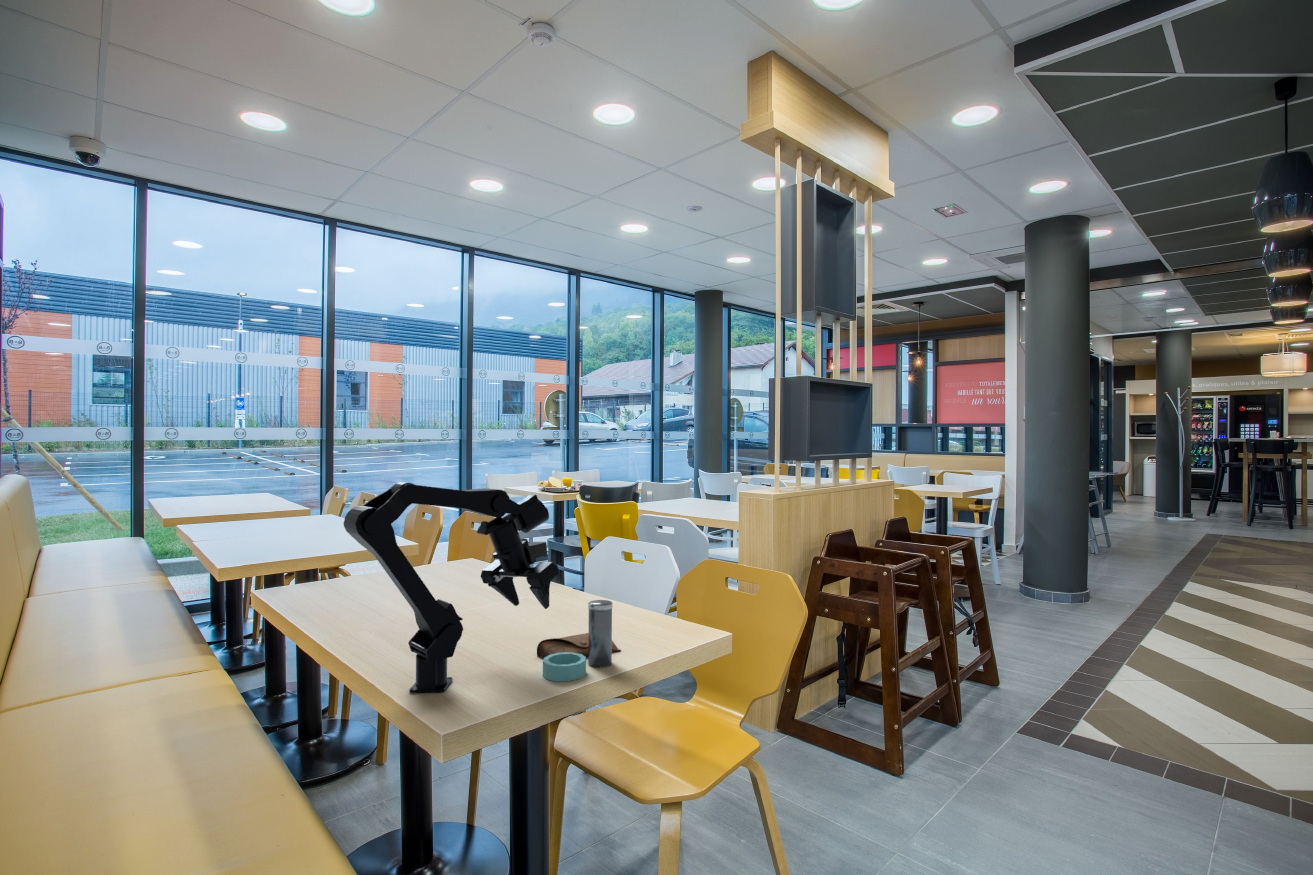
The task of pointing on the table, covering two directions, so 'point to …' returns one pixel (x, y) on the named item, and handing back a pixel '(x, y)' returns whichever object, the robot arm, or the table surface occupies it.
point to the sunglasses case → (567, 645)
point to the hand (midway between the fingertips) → (532, 606)
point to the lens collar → (564, 666)
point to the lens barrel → (600, 633)
